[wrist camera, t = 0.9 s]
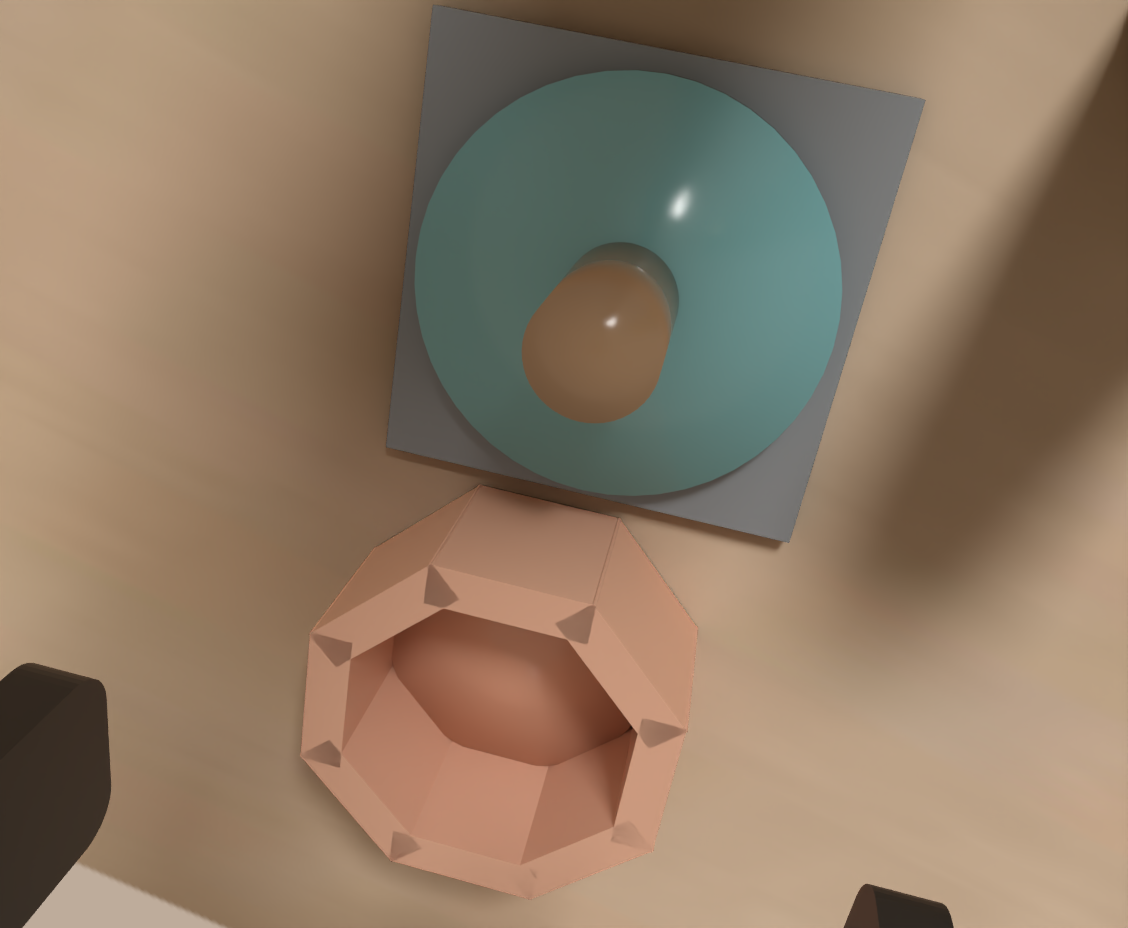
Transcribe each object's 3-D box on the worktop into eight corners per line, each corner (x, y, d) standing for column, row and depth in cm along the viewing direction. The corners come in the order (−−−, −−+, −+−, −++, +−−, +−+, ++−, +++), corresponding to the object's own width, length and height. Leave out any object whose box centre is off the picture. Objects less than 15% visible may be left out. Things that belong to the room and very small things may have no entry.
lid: (449, 30, 24) (365, 27, 19) (896, 117, 23) (938, 139, 18) (403, 435, 29) (325, 522, 24) (776, 523, 28) (780, 634, 23)
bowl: (382, 460, 30) (316, 534, 26) (722, 541, 29) (715, 634, 25) (354, 730, 34) (293, 834, 30) (648, 808, 33) (631, 928, 29)
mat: (439, 5, 25) (432, 4, 24) (921, 98, 24) (925, 100, 23) (392, 439, 30) (385, 447, 29) (788, 533, 29) (789, 543, 28)
